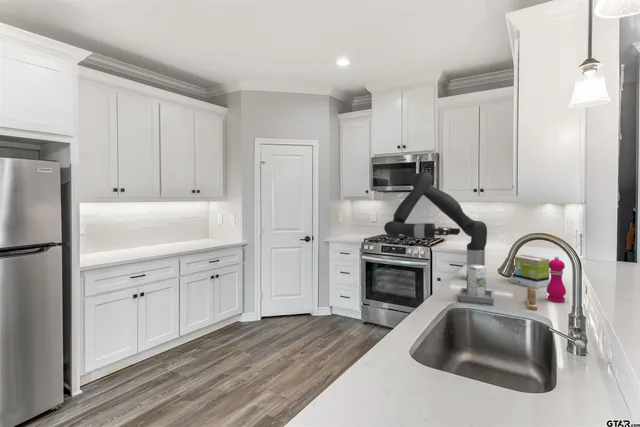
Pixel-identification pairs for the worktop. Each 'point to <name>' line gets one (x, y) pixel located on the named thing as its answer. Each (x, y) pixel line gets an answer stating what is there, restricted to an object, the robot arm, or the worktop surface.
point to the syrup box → (476, 280)
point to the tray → (476, 297)
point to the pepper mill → (556, 281)
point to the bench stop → (531, 298)
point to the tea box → (531, 271)
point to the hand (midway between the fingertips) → (459, 231)
